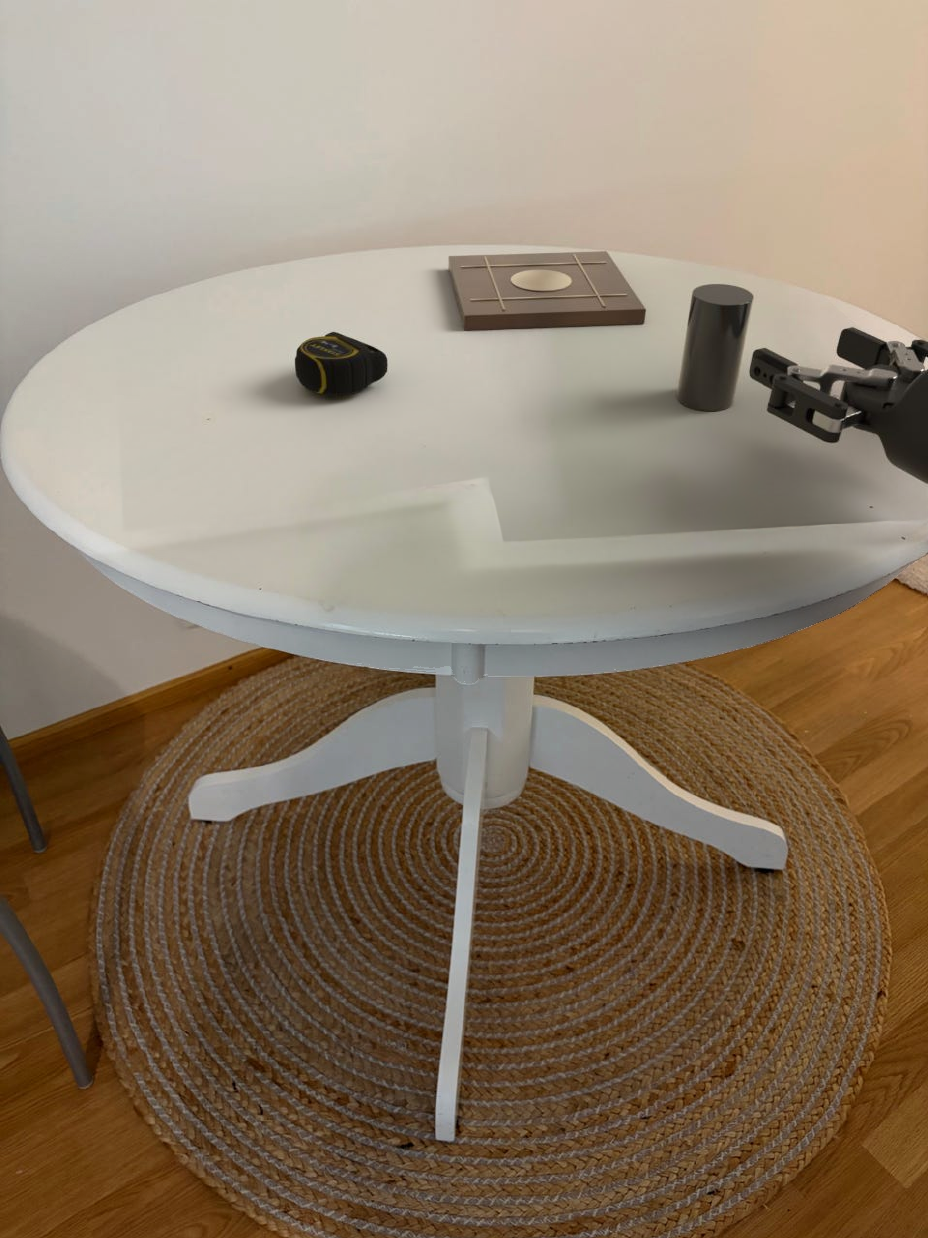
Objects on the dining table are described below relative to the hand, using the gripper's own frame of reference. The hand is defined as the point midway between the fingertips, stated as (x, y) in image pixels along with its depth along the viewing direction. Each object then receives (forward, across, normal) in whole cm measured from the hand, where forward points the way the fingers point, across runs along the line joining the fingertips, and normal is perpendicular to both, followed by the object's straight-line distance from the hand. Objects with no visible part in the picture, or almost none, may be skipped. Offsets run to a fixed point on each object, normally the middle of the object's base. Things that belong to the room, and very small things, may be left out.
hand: (799, 350), depth 70 cm
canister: (+9, 0, +8) cm, 12 cm away
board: (+37, -1, +8) cm, 38 cm away
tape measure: (+26, +26, +8) cm, 38 cm away
